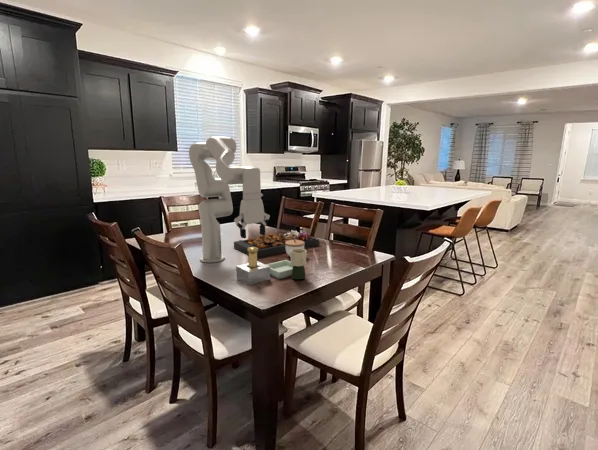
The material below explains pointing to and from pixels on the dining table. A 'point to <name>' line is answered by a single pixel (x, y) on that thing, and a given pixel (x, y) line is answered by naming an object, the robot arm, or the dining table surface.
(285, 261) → the tray
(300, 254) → the character mug
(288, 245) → the lidded jar
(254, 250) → the pin
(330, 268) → the dining table surface
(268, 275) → the white square-hole block
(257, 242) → the food platter
